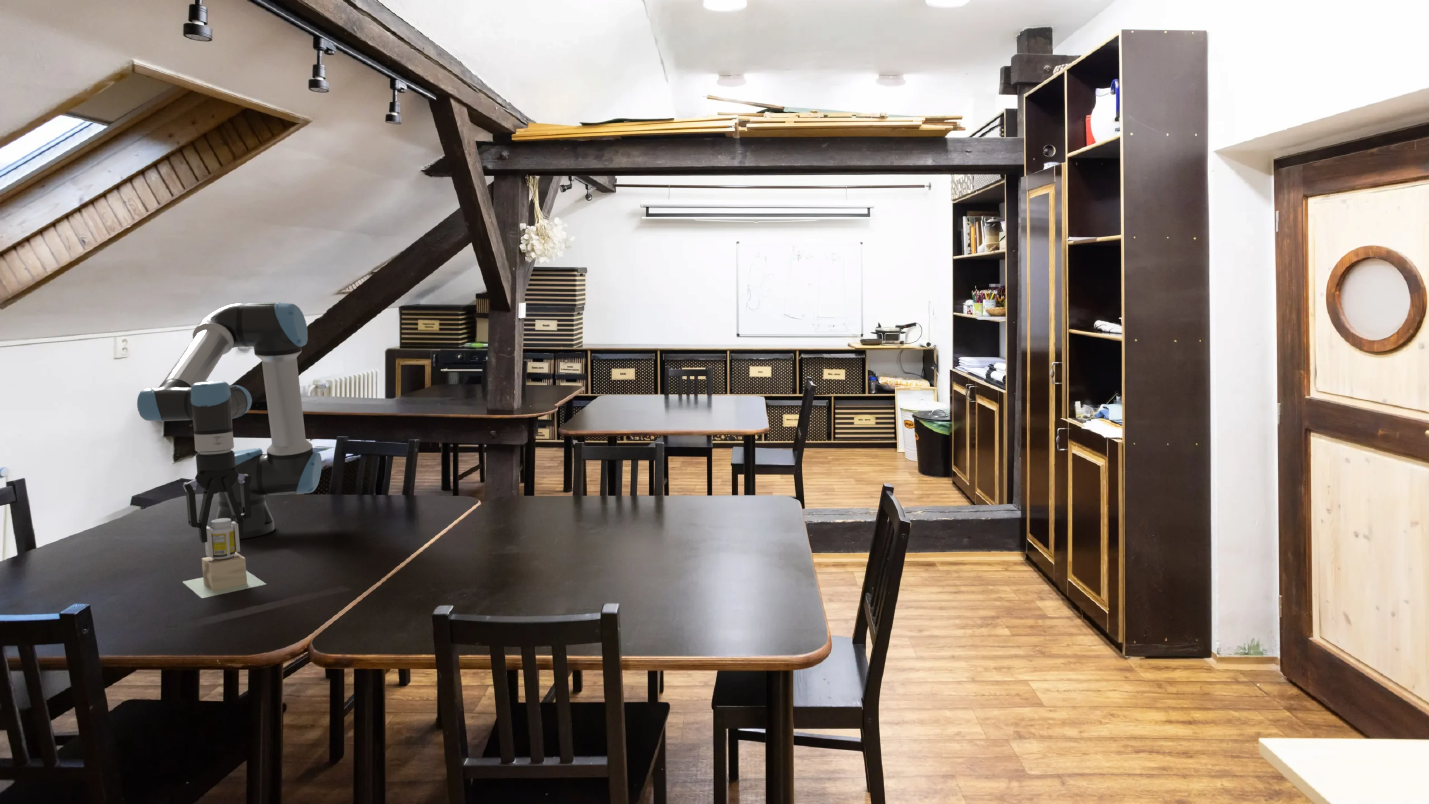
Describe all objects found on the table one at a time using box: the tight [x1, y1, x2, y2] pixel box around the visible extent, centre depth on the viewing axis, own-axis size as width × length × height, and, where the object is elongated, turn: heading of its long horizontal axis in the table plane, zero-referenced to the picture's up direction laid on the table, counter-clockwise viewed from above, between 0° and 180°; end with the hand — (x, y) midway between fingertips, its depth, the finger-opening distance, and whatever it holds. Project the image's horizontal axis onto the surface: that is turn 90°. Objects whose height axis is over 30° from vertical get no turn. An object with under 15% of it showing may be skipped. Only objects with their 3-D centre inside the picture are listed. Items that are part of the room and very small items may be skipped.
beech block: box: [201, 551, 247, 591], centre depth 196 cm, size 7×7×6 cm
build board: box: [182, 570, 267, 599], centre depth 198 cm, size 16×13×1 cm
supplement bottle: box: [210, 518, 236, 559], centre depth 196 cm, size 5×5×8 cm
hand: (223, 552), depth 196 cm, fingers closed on supplement bottle, 5 cm apart
